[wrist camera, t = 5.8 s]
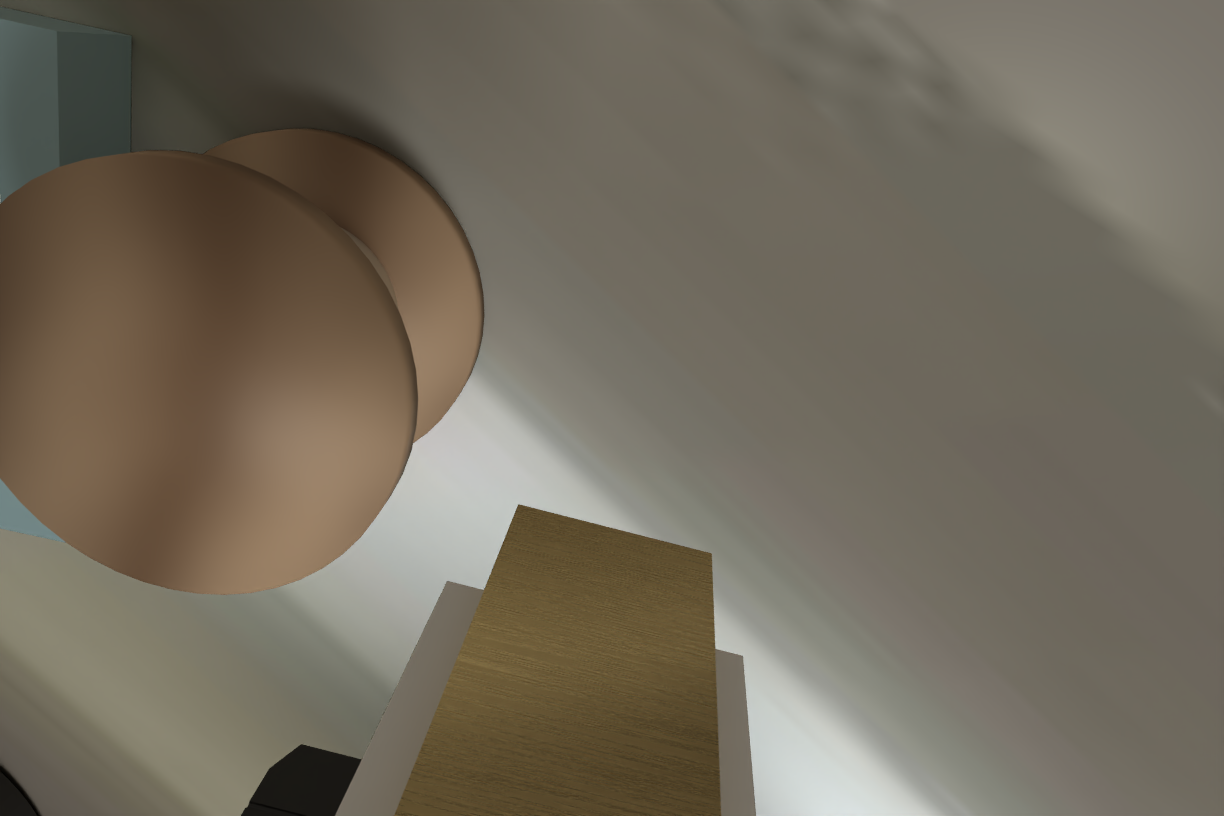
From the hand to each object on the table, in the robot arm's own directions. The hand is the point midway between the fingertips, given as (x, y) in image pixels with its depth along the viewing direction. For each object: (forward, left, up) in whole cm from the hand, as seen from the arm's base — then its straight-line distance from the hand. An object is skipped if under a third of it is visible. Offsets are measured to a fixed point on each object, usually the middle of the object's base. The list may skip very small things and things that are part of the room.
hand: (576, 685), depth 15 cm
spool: (-11, 0, -16) cm, 19 cm away
